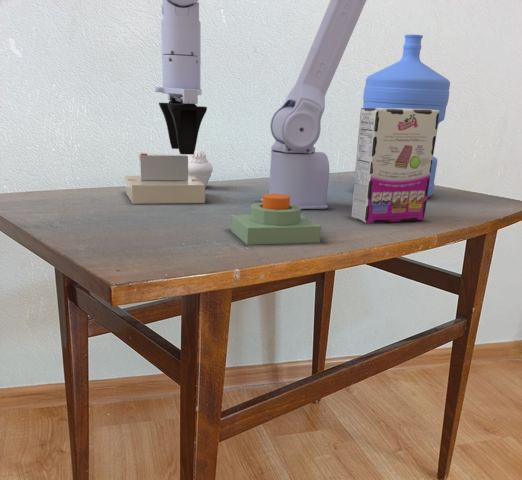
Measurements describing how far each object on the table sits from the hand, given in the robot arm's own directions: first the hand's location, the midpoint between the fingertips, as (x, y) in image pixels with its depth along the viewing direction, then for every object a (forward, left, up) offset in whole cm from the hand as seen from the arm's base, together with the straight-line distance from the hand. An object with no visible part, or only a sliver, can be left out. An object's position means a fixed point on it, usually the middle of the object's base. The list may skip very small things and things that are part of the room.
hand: (182, 151), depth 94 cm
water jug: (-44, -9, -9) cm, 46 cm away
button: (-8, +23, -5) cm, 25 cm away
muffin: (-6, -17, -9) cm, 20 cm away
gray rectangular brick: (+2, -6, -5) cm, 8 cm away
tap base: (+2, -6, -8) cm, 10 cm away
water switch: (-8, +23, -8) cm, 26 cm away
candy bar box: (-30, +14, -9) cm, 34 cm away
